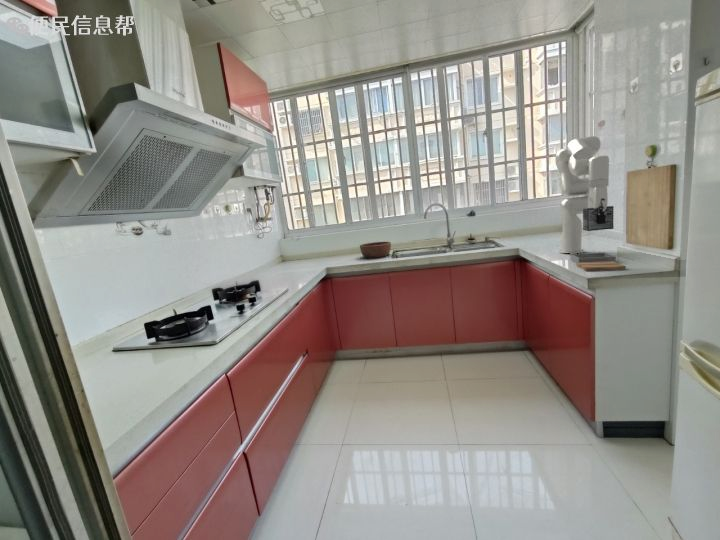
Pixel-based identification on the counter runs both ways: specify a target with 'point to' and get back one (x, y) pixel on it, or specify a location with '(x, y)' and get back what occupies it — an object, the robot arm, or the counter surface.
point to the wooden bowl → (375, 249)
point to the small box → (591, 219)
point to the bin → (592, 257)
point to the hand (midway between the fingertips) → (597, 222)
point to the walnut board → (600, 266)
